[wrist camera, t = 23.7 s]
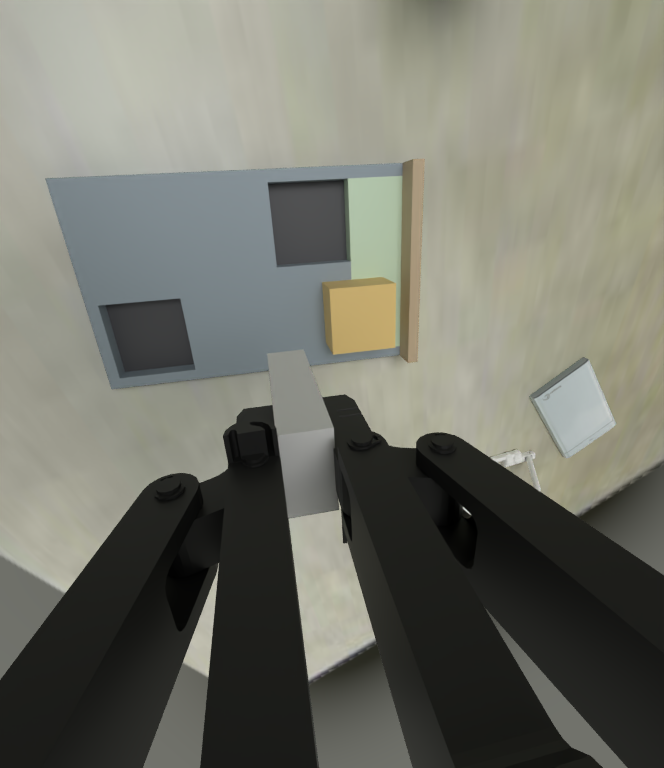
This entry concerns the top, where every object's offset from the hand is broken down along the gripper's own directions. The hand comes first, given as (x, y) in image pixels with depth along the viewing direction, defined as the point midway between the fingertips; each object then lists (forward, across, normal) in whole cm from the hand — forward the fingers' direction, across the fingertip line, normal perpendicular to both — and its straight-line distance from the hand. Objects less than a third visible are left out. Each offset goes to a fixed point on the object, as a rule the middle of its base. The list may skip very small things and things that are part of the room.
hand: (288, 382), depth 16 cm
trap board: (+24, -1, +1) cm, 24 cm away
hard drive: (+25, +38, -19) cm, 50 cm away
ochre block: (+22, +8, -3) cm, 24 cm away
